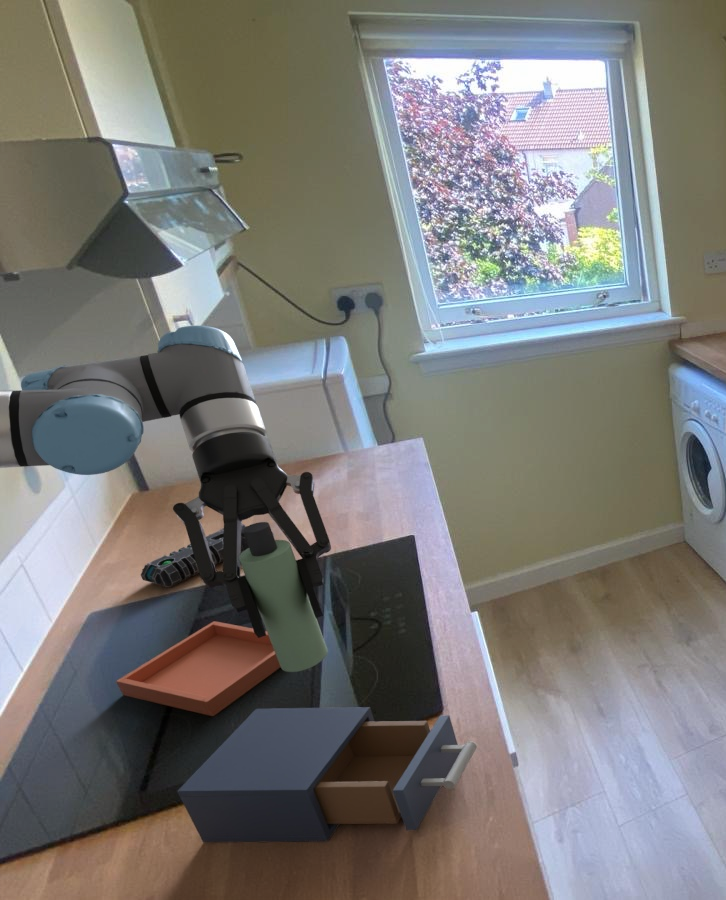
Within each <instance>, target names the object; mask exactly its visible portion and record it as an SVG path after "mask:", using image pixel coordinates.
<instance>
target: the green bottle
mask: <svg viewBox="0 0 726 900" xmlns="http://www.w3.org/2000/svg"><path fill="white" fill-rule="evenodd" d="M246 526H247V527H245V528H244V529H243V533H244V536H245V538H246V541H247V544H248V546H249V548H248V549H246V550H245V551H242V552H241V554H240V555H239V561H240V564H241V565H240V567H241V569H242V572H243V574H244V576H246V579H247V582H248V584H249V587H250V589H251V592H252V594H253V597H254V600H255V602H256V605H257V608H258V611H259V614H260V617H261V620H262V623H263V626H264V629H265V631H267V633H268V636H269V638H270V641H271V643H272V646H273V648H274V651H275V654H276V656H277V659H278V661H279V664H280V666H281V667H280V668H281V670H282V671H284V672H287V673H296V672H302V671H305V670H308V669H310V668H312V667H315V666H317V665H318V664H319V663H321V662H322V661H323V660H324V659H325V658H326V657H327V655H328V653H329V650H328V647H327V644H326V640H325V638H324V636H323V633H322V630H321V627H320V624H319V622H318V618H316V617H315V615H314V612H313V610H312V607H311V604H310V601H309V598H308V595H307V592H306V589H305V586H304V583H303V580H302V577H301V574H300V571H299V568H298V566H297V563H296V560H297V558H296V556H295V554H294V550H293V548H292V544H291V543H290V541H289V540H285V539H275V535H274V536H273V533H274V532H273V531H272V528H271V525H270V523H269V522H267V521H260V522H255V523H251V524H249V525H246ZM272 532H273V533H272Z"/></svg>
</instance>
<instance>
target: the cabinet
mask: <svg viewBox="0 0 726 900" xmlns="http://www.w3.org/2000/svg"><path fill="white" fill-rule="evenodd" d="M363 722H376V721H375V719H374V716H373V713H372V710H371V707H370V706H367V707H366V706H363V707H362V706H361V707H359V706H358V707H357V706H356V707H351V706H350V707H291V708H290V707H287V708H286V707H285V708H282V707H281V708H276V707H275V708H255V709H254V710H253V711H252V712H251V713H250V714H249V715H248V717H247V718H246V719H245V720H244V721H243V722H242V723H241V724H240V725H239V726H238V727H237V728H236V729H235V730H234V731H233V732H232V733H231V734H230V736H228V737H227V739H226V740H225V741H223V742H222V744H221V745H220V746H219V747H218V748H217V749H216V750H215V751H214V752H213V753H212V754H211V755H210V756H209V757H208V758H207V759H206V760H205V761H204V763H202V764H201V766H200V767H199V768H197V770H195V772H194V773H193V774H192V775H190V777H189V778H188V779H187V780H186V781H185V782H184V783H183V785H181V787H180V788H179V789H177V791H176V792H177V794H178V796H179V798H180V800H181V802H182V804H183V805H184V808H185V810H186V811H187V814H188V816H189V818H190V819H191V821H192V823H193V825H194V827H195V829H196V831H197V834H198V835H199V838H200V840H201V842H202V843H291V842H293V843H296V842H297V843H298V842H299V843H303V842H306V843H307V842H308V843H309V842H329V841H330V839H331V837H332V836H333V835H334V833H335V831H336V830H337V828H338V827H339V826H340V824H327V823H326V820H325V818H324V815H323V813H322V810H321V808H320V805H319V803H318V800H317V798H316V796H315V793H314V791H313V789H314V787H315V786H316V785H317V783H318V782H319V781H320V779H321V778H322V777H323V775H324V774H325V773H326V771H327V770H328V769H329V767H330V766H331V765H332V763H333V762H334V761H335V760H336V758H337V757H338V756H339V754H340V753H341V752H342V750H343V749H344V748H345V746H346V745H347V744H348V742H349V741H350V740H351V738H352V737H353V736H354V734H355V733H356V732H357V730H358V729H359V728H360V726H361V725H362V724H363Z"/></svg>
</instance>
